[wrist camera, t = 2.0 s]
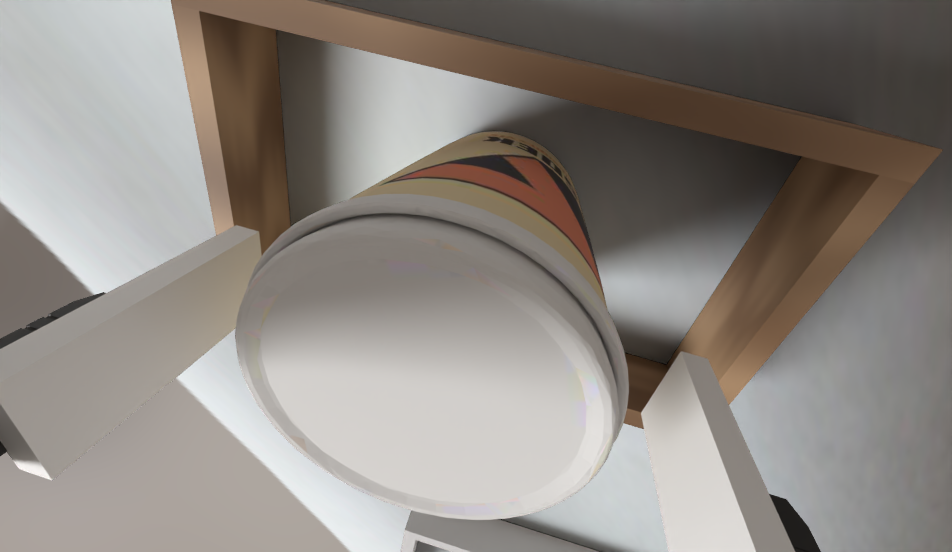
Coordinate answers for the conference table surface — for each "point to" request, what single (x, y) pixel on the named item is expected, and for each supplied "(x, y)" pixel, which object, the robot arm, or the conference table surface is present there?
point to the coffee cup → (442, 336)
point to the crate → (811, 136)
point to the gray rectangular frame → (479, 536)
